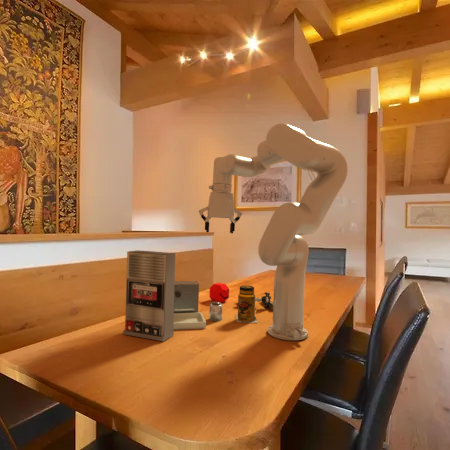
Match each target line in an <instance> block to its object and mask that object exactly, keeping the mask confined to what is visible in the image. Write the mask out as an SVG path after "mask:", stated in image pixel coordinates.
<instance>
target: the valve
mask: <svg viewBox="0 0 450 450" xmlns="http://www.w3.org/2000/svg"><path fill="white" fill-rule="evenodd" d="M270 294H271V293H270V292H266V291H265V292H264V295H262V296H263V297H262V299H261V297H256V296H255V303H256V302H258V303H259V302H260V303H262V302H263V303H262V305H263V308H264V309H270V308H269V304H270V300H272V296H270ZM261 301H262V302H261ZM266 302H268V303H266Z"/></svg>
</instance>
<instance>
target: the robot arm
mask: <svg viewBox="0 0 450 450" xmlns="http://www.w3.org/2000/svg"><path fill="white" fill-rule="evenodd" d="M256 153H257V155H256V156H253V157H248V156H244V155H238V154H234V153H232V154H231V153H230V154H226V155H225V156H218V157H215V158H214V160H213V170H212V171H213V172H212V173H213V174H212V184H210V185H208V189H209V190H211V192H210V193H209V198H208V205H207V206H206V207H203V208H201V209H199V210H198V214H199V216H200V218H202V220H203V221H204V231H205V232H206V233H209V232H210V220H211V219H212V218H216V219H217V218H218V219H229V221H230V224H229V233H230V234H234V232H235V231H236V229H235V228H236V223H237V222H238V221H239V220H240V218H242V215H243V212H241V211H240V210H239V209H237V208H235V199H234V198H235V195H234V193H232V187H233V186H232V185H233V176H235V177H236V176H238V177H242V178H252V177H256V176H258V175H263V174H264V173H266V172H267V171H268V170H269V169H270V168H271V167H272V166H273V165H275V164H279V163H281V162H284V161H287V162H288V163H289V164H291V165H292V166H294V167H296V168H298V169H300V170H304V171H308V172H311V173H316V174H317V175H316V176H315V178H314V179H313V180H312V181H311V182H310V183H309V185H308V186H307V187H306V188H305V190H304V192H303V195H302V197H301V198H300V200H299V201H298V202H294V201H289V202H288V201H287V202H284V203H282V204H281V205H279V206H278V207H277V208H276V210H274V213H273V214H272V216H271V218H270V220H269V222H268V224H267V226H266V228H265V230H264V232H263V234H262V236H261V238H260V241H259V243H258V250H257V251H258V252H257V253H258V256H259V258H260V260H261V262H262V263H263V264H265V265H267V266H271V267H272V266H273V267H276V268H275V271H274V276H273V277H274V279H273V280H274V281H273V301H272V302H273V311H272V324H270V325H269V326H268V327H267V333H268V335H269V336H271V337H272V338H273V337H274V338H275V339H279V340H284V341H295V342H296V341H302V340H305V339H307V338H308V337H309V331H308V330H307V329H306V328H305V327H304V317H305V314H304V311H305V286H306V285H305V283H306V270H307V263H308V260H309V253H310V250H309V249H310V248H309V245H308V244H309V243H308V242H307V240H306V239H305V238H304V237H303V236H310V235H313V234H314V233H315V232H317V231H318V229H319V228H320V226H321V224H322V222H323V220H324V219H325V218H326V216H327V214H328V211H329V210H330V208H331V207H332V205H333V202H334V201H335V199H336V197H337V196H338V194H339V192H340V191H341V189H342V188H343V185H344V184H345V182H346V179H347V176H348V171H349V170H348V162H347V160H346V157H345V156H344V155H343V153H342V152H341V151H340V150H339V149H337V148H336V147H334V146H333V145H330V144H329V143H328V144H327V143H324V142H321V141H319V140H316V139H313V138H311V137H310V136H308V135H307V133H306V132H305V131H304V130H302V129H300V128H298V127H296V126H294V125H293V126H292V125H291V124H288V123H284V122H283V123H282V122H280V123H276V124H274V125H273V126H272V127H270V129H269V130H268V132H267V133H266V137H265V140H262V141H261V142H259V144H258V145H257V150H256ZM206 211H207V216H205V215H204V212H206ZM235 214H236V215H237V216H236V217H234V216H235Z"/></svg>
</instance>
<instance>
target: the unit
mask: <svg viewBox="0 0 450 450" xmlns="http://www.w3.org/2000/svg"><path fill="white" fill-rule="evenodd" d="M199 293H200V284H199V282H198V281H197V280H185V281H184V280H179V281H178V280H177V281H175V285H174V313H196V312H199V302H200V301H199V300H200V299H199V295H200V294H199Z"/></svg>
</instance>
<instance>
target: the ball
mask: <svg viewBox="0 0 450 450" xmlns="http://www.w3.org/2000/svg"><path fill="white" fill-rule="evenodd" d="M209 299H210V300H211V301H212V302H221V303H225V302H226V301H227V300H228V299H230V289H229V286H228V285H227V284H226V283H223V282H216V283H212V285H211V286H210V287H209Z"/></svg>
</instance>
